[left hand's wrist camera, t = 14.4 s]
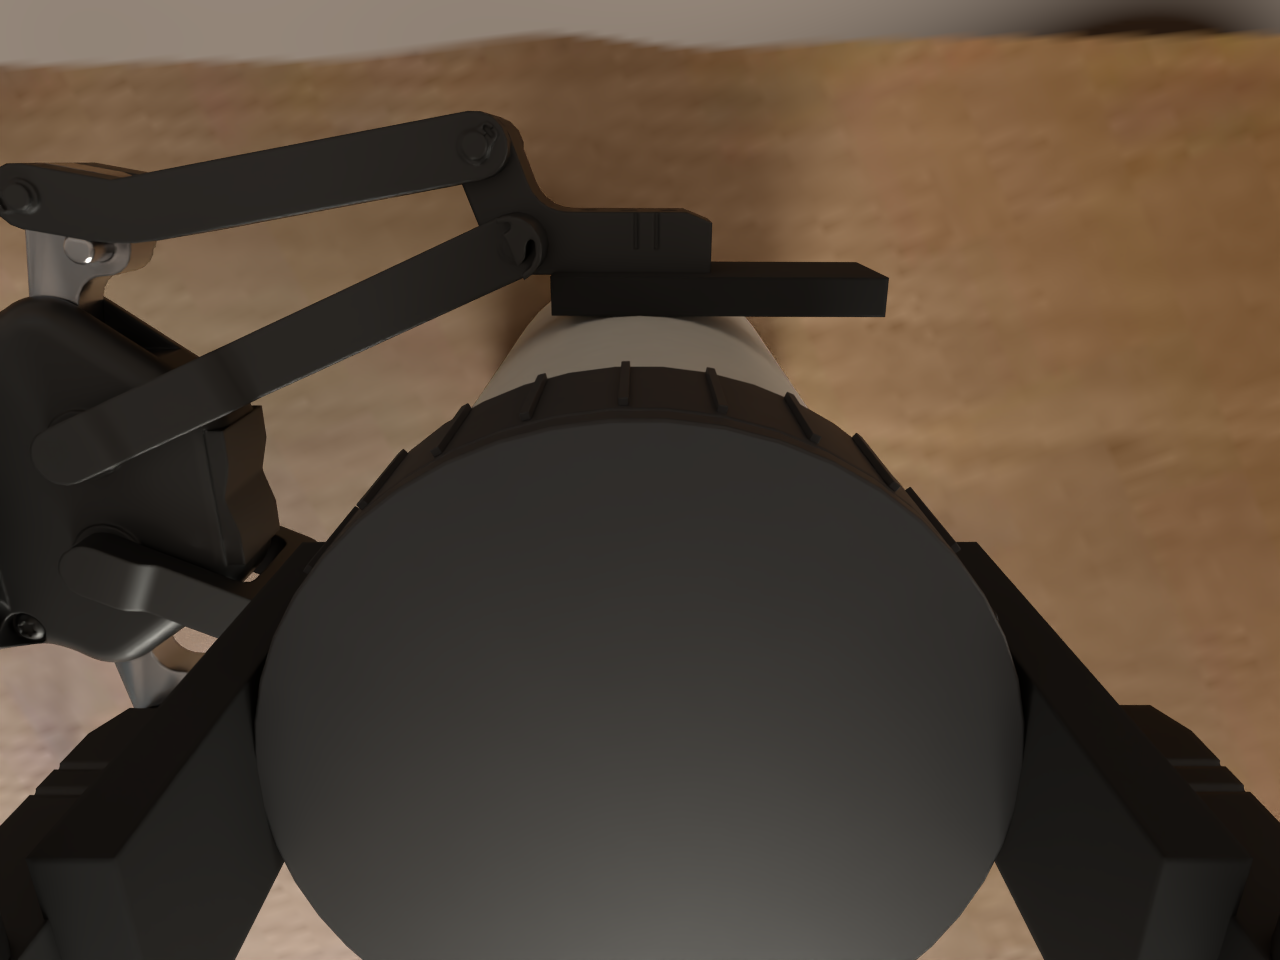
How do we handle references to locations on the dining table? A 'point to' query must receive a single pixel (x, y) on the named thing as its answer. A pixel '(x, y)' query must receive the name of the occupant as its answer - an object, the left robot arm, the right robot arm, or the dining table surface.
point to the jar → (638, 349)
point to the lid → (639, 690)
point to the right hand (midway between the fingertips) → (850, 485)
